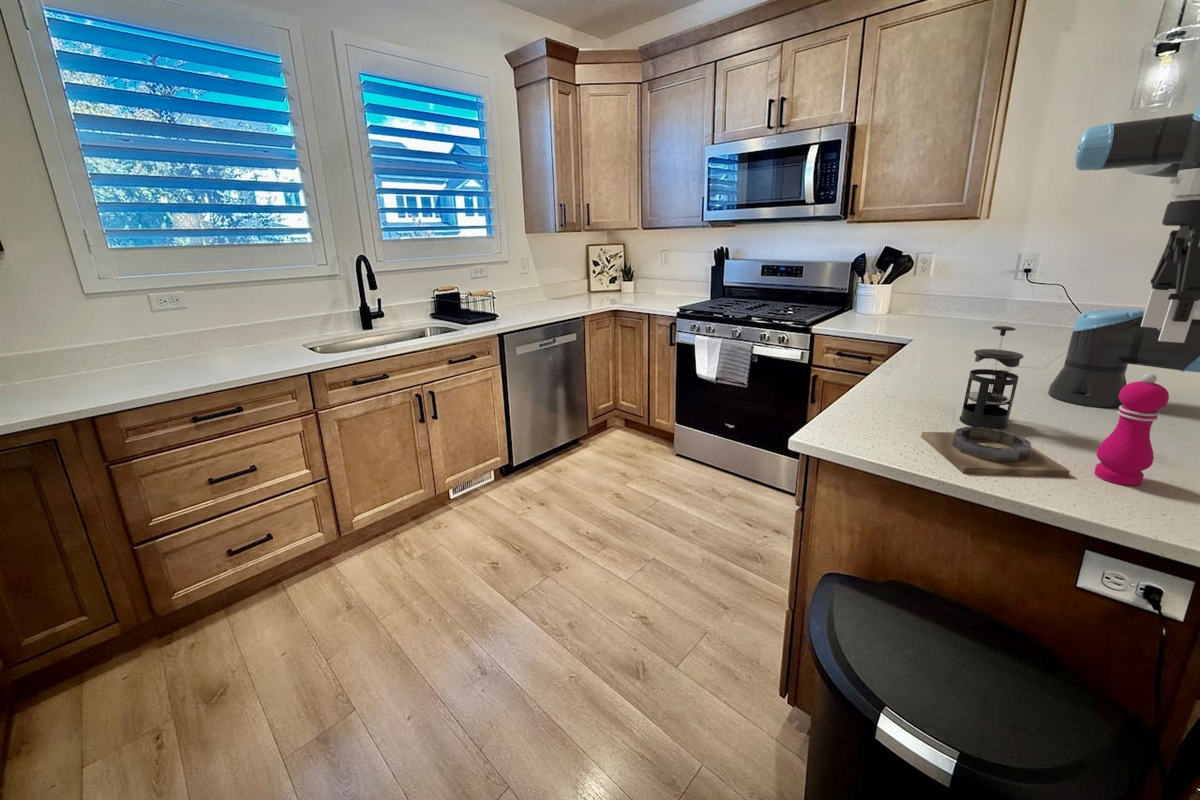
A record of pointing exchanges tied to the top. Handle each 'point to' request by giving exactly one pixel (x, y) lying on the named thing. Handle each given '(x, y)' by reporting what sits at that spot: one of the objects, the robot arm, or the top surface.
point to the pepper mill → (1132, 433)
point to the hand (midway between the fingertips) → (1160, 334)
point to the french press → (992, 413)
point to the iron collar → (994, 454)
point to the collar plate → (968, 464)
